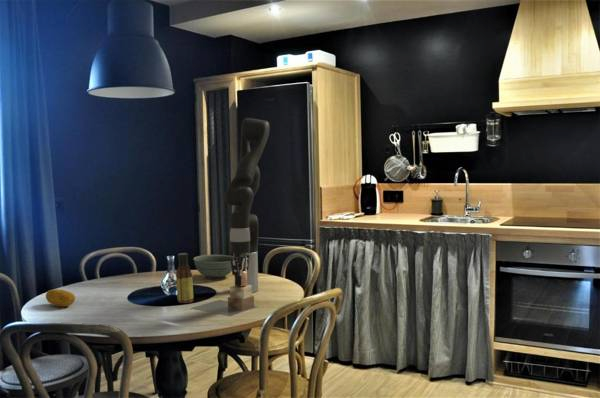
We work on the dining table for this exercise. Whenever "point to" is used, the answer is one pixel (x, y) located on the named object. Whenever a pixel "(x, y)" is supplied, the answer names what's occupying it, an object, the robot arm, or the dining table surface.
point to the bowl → (214, 265)
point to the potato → (60, 297)
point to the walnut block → (241, 303)
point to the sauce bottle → (184, 280)
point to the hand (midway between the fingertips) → (240, 284)
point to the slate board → (219, 308)
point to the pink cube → (243, 278)
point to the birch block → (241, 291)
